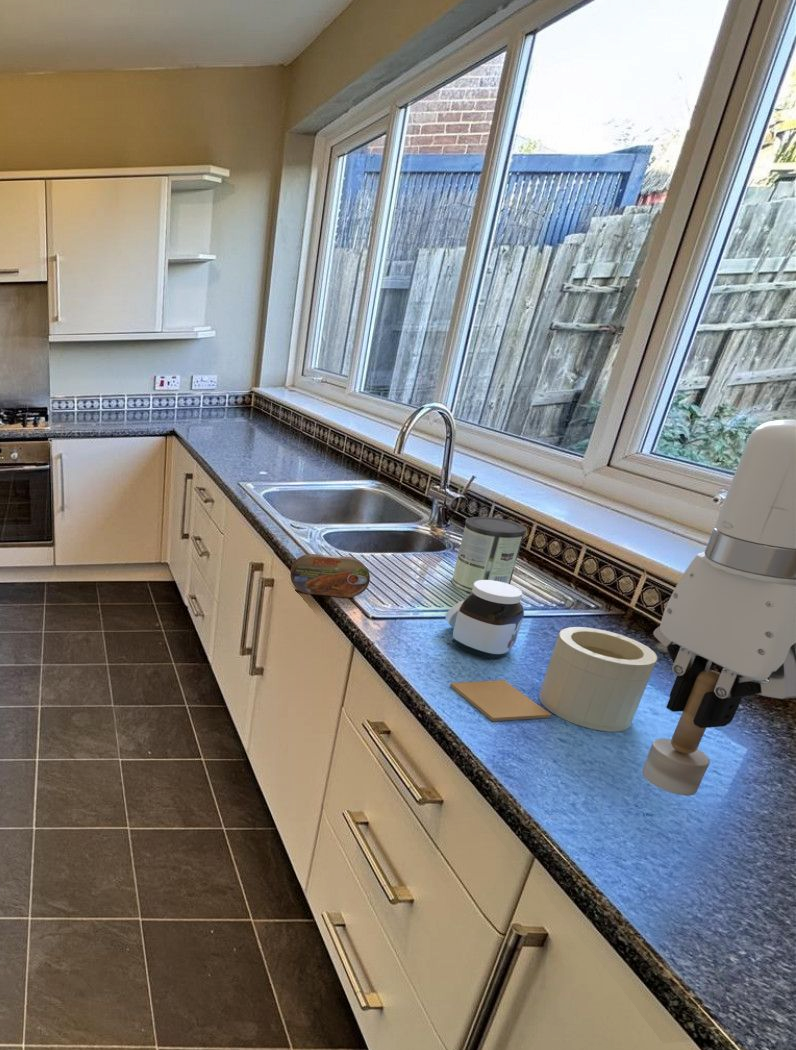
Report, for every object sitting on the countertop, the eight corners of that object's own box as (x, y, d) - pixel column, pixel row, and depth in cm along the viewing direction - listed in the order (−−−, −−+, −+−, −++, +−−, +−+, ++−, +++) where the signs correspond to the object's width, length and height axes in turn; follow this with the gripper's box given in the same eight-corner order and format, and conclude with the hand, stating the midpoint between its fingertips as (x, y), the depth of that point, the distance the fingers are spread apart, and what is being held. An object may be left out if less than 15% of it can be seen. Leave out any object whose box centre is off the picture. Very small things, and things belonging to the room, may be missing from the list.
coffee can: (466, 572, 138) (482, 513, 133) (517, 589, 130) (536, 526, 125) (440, 582, 134) (455, 521, 128) (492, 600, 125) (510, 535, 120)
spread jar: (488, 665, 103) (506, 603, 99) (422, 636, 112) (436, 578, 108) (526, 647, 108) (545, 587, 104) (460, 621, 117) (475, 565, 113)
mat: (503, 682, 98) (504, 679, 98) (550, 717, 90) (551, 714, 90) (449, 686, 98) (450, 682, 97) (492, 721, 89) (493, 718, 89)
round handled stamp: (666, 765, 70) (711, 658, 65) (708, 794, 66) (759, 682, 60) (630, 768, 69) (672, 661, 64) (670, 797, 65) (718, 685, 60)
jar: (584, 686, 97) (606, 625, 93) (651, 729, 87) (679, 662, 83) (521, 690, 96) (540, 628, 92) (581, 734, 86) (606, 666, 82)
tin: (288, 592, 130) (293, 555, 127) (287, 585, 133) (292, 549, 130) (366, 600, 126) (373, 562, 123) (363, 594, 129) (371, 556, 126)
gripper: (918, 587, 51) (823, 767, 57) (709, 525, 65) (653, 673, 72) (834, 593, 50) (748, 773, 57) (643, 528, 65) (593, 677, 72)
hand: (696, 716), depth 64 cm, fingers closed on round handled stamp, 2 cm apart
